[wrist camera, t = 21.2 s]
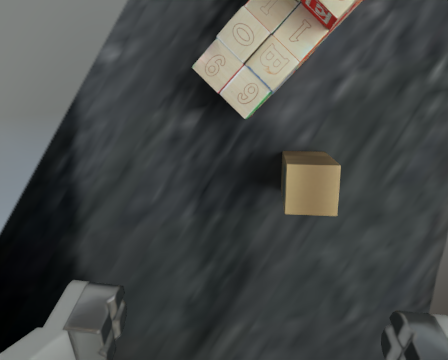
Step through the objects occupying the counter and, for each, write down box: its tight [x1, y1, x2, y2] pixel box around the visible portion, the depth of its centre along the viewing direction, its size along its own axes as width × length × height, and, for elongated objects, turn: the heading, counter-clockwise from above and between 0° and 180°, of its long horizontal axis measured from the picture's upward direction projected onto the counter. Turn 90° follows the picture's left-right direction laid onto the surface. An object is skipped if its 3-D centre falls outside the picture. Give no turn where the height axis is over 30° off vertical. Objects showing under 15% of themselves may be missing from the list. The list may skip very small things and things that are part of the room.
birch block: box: [281, 151, 341, 216], centre depth 33 cm, size 4×4×9 cm
